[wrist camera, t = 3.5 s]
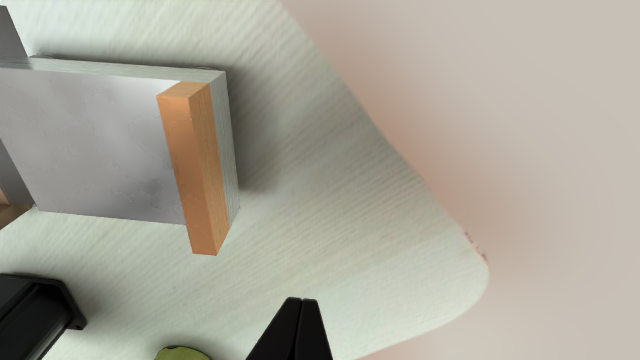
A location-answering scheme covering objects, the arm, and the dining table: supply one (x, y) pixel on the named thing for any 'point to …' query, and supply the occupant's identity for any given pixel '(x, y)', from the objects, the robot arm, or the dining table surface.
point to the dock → (3, 177)
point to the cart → (123, 142)
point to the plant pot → (180, 354)
